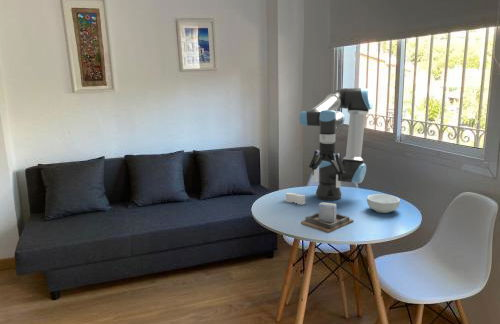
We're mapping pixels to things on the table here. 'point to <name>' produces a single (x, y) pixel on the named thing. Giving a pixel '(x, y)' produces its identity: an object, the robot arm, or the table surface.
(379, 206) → the cereal bowl
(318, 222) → the wooden tray
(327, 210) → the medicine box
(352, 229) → the table surface
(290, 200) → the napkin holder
